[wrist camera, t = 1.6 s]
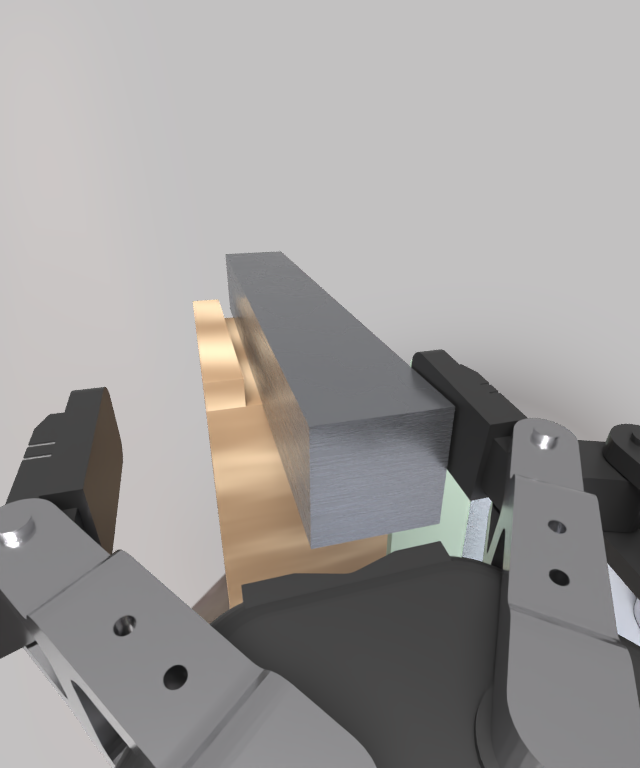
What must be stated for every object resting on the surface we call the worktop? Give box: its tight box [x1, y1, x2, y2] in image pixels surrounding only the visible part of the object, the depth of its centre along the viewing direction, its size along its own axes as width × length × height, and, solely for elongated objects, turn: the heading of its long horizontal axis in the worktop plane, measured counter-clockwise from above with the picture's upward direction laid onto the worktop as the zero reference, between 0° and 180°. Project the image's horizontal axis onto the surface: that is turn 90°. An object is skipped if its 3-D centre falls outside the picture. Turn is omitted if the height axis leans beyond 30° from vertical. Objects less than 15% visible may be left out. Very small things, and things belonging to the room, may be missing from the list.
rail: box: [226, 252, 455, 549], centre depth 21 cm, size 22×4×4 cm, turn 15°
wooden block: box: [193, 300, 388, 609], centre depth 31 cm, size 12×8×33 cm, turn 16°
